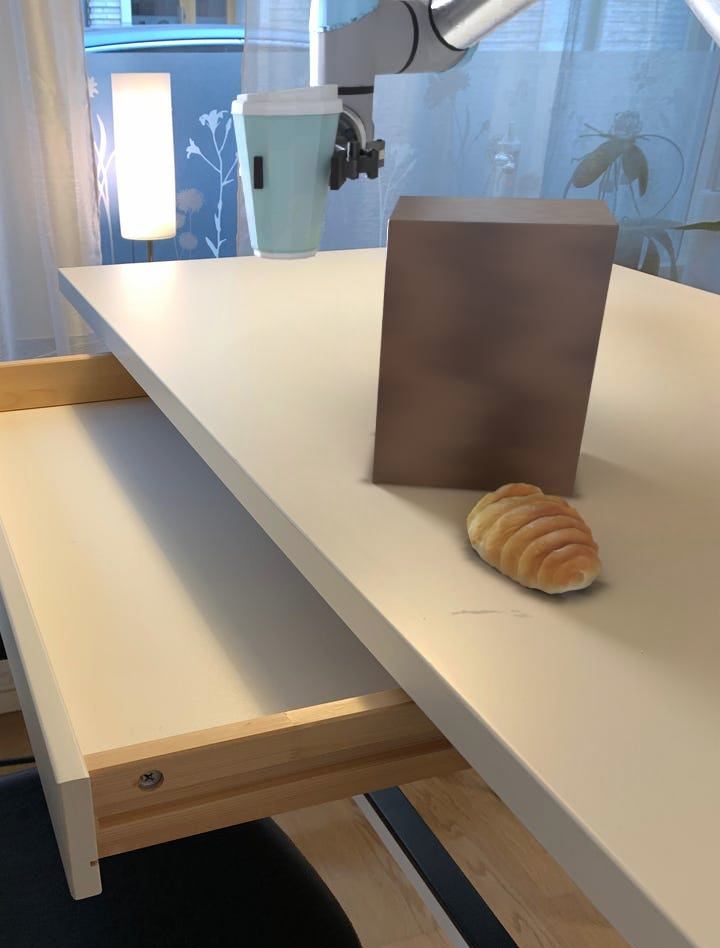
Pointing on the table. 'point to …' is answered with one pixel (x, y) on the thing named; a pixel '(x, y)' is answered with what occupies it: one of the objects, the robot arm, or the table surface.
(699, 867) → the table surface
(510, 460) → the storage box
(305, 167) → the disposable coffee cup
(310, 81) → the robot arm
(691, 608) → the table surface
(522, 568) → the pastry
